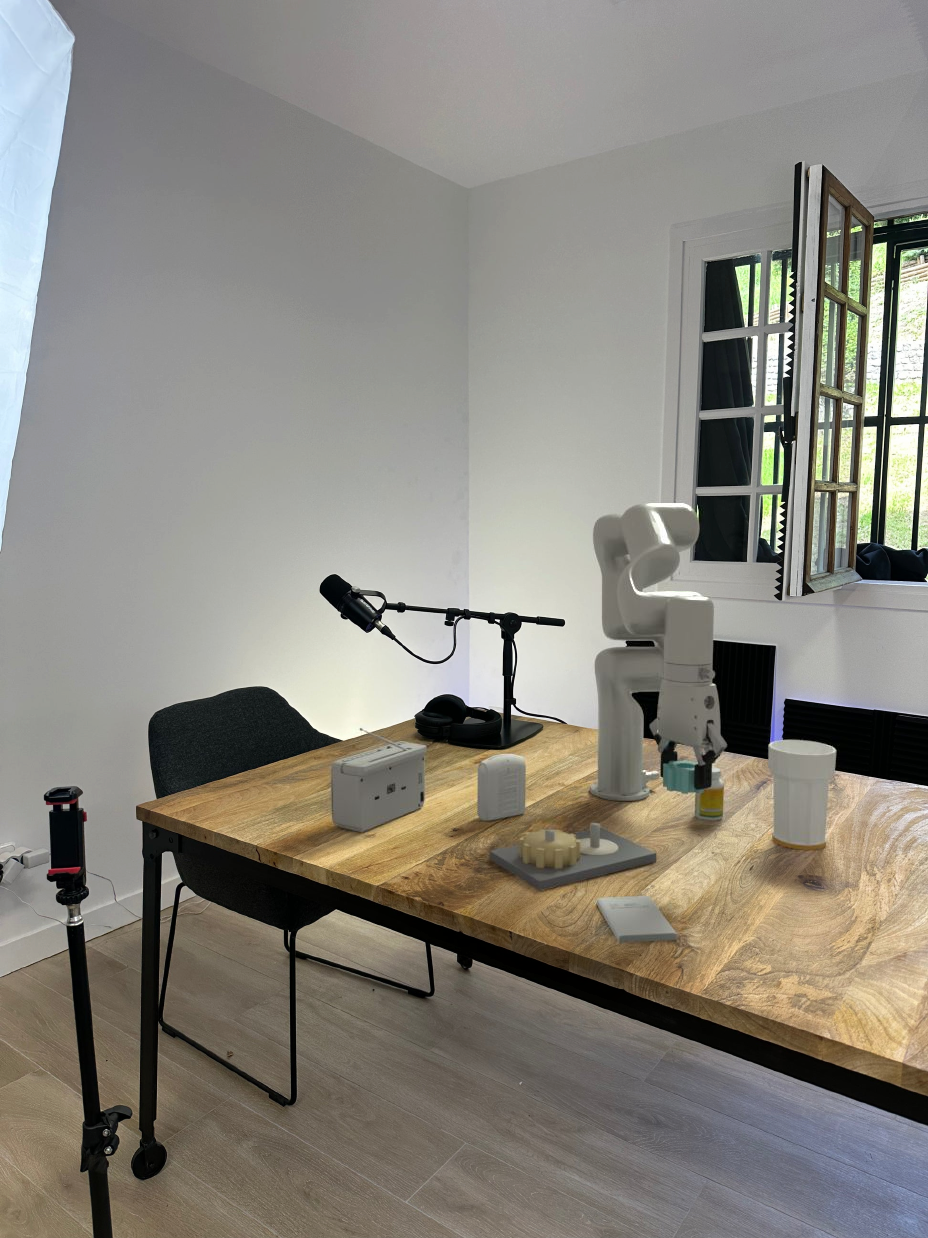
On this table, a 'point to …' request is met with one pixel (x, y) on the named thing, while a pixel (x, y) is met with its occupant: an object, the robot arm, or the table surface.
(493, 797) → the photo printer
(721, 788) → the supplement bottle
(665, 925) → the external hard drive
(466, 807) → the table surface
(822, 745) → the cup
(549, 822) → the table surface
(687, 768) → the teal gear
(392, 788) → the stereo radio cassette player
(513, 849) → the gear board
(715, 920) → the table surface
